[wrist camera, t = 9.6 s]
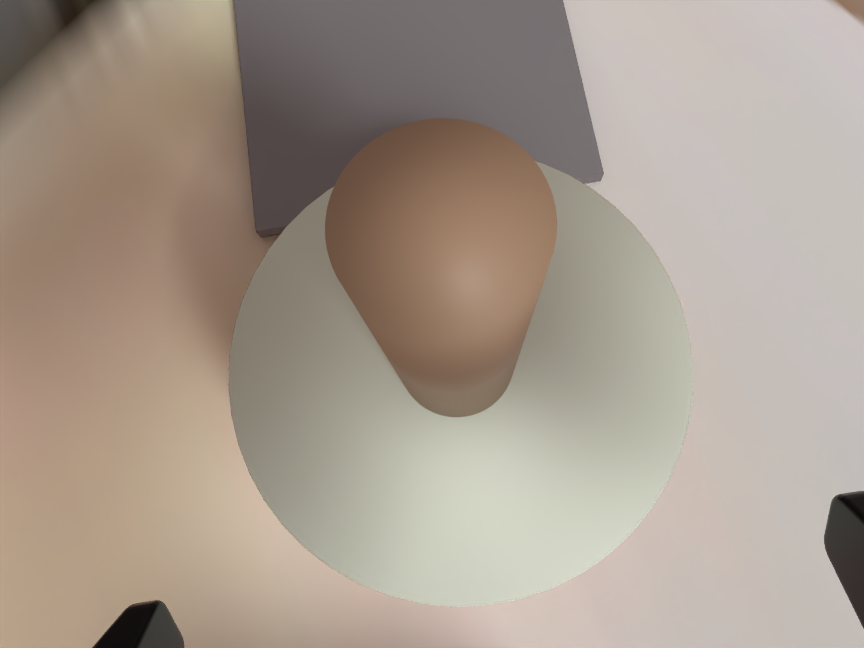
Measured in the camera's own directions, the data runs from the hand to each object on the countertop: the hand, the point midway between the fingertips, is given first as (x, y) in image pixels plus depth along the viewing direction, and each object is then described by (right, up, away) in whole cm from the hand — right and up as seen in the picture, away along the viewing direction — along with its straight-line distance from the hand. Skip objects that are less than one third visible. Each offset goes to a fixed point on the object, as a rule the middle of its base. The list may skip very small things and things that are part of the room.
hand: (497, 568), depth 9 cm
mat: (-2, +13, +17) cm, 22 cm away
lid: (0, +2, +9) cm, 10 cm away
